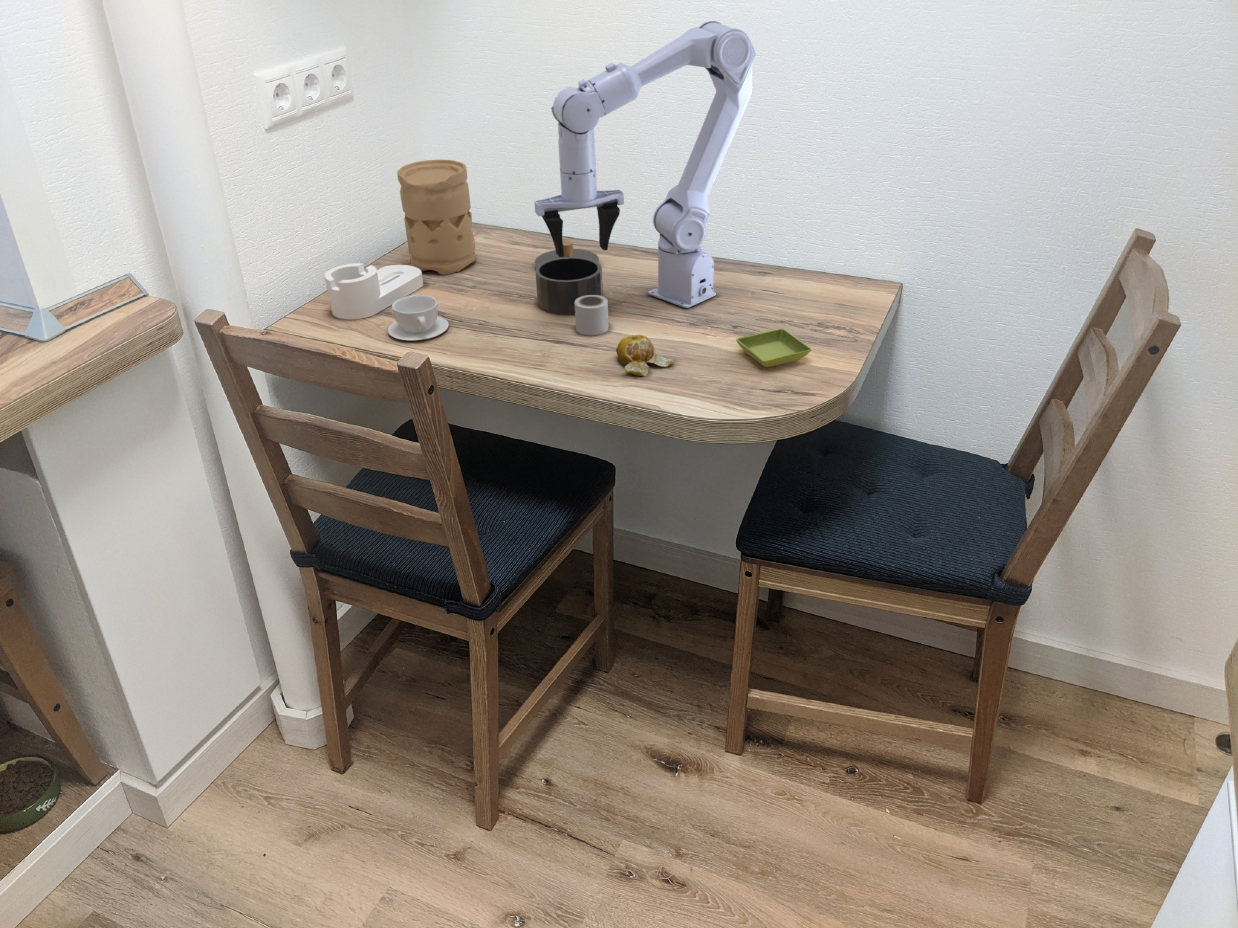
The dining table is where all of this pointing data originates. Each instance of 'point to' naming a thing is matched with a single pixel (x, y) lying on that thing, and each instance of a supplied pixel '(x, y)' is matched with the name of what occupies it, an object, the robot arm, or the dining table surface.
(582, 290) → the pot
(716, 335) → the dining table surface
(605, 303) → the tape roll
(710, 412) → the dining table surface
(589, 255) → the lid
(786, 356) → the saucer
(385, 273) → the bracket
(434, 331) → the teacup
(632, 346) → the fruit
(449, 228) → the container
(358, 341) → the dining table surface
